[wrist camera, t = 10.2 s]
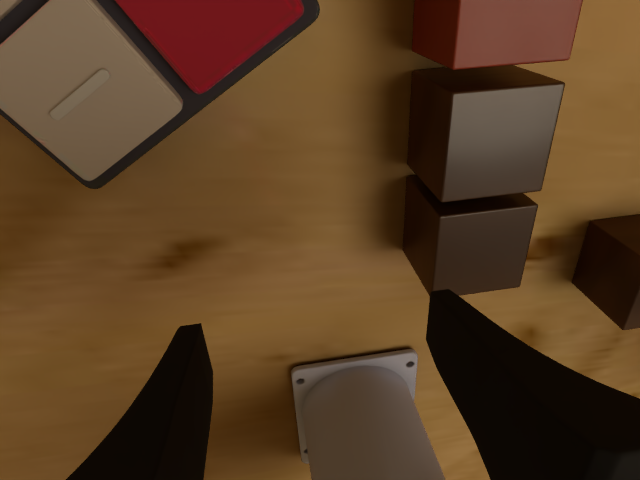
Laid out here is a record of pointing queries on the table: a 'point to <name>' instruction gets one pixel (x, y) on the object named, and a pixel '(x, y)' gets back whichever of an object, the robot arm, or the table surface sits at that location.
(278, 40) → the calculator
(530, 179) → the T block
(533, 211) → the dark brown cube block
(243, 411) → the table surface
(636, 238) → the I block back
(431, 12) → the block
